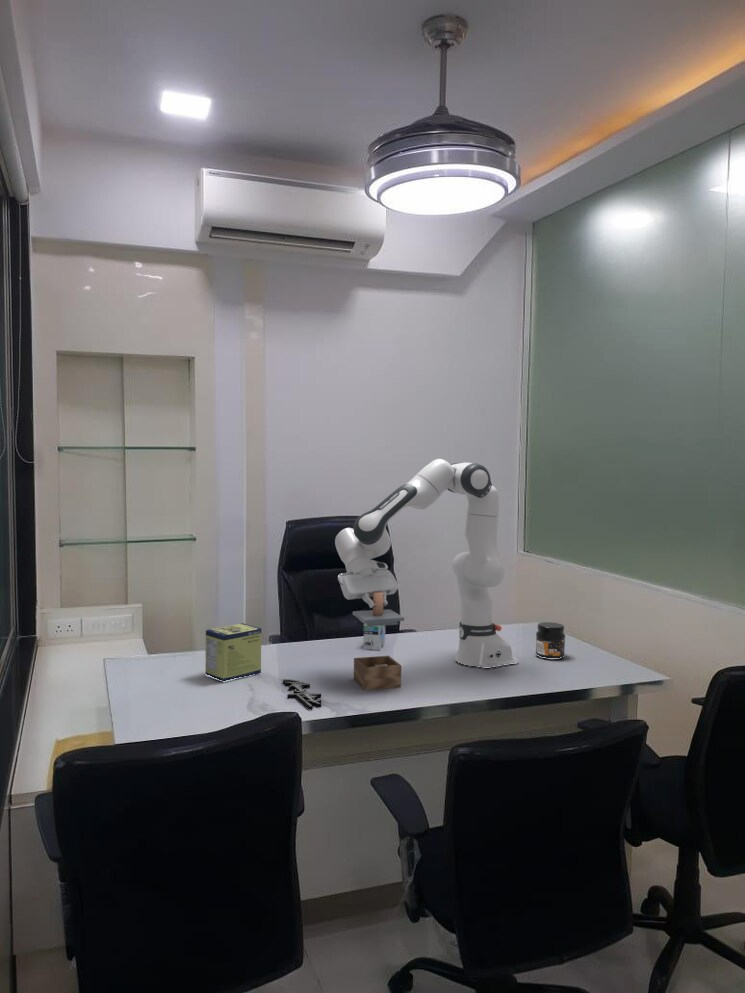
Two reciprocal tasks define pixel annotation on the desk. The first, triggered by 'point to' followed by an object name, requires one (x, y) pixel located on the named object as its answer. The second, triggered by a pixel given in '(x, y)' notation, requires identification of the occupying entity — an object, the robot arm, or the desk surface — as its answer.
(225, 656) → the protein box
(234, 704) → the desk surface
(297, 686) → the nameplate
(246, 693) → the desk surface
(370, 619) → the lid
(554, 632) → the supplement container
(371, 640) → the light bulb box
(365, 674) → the box
